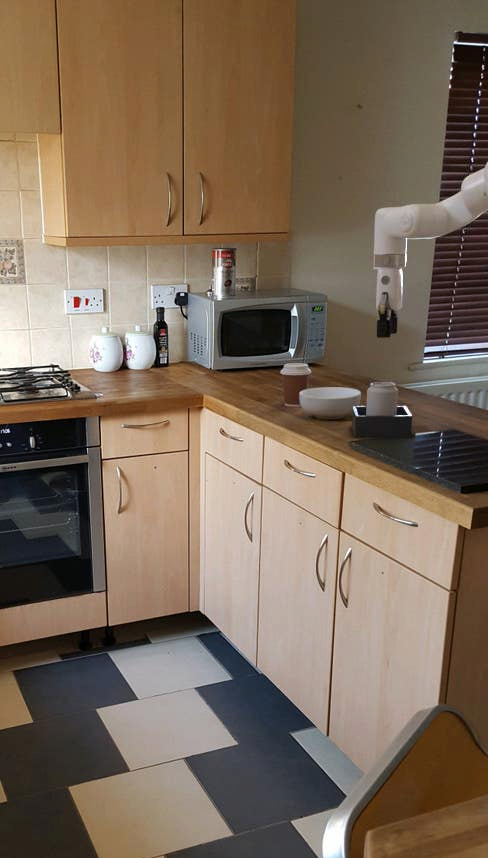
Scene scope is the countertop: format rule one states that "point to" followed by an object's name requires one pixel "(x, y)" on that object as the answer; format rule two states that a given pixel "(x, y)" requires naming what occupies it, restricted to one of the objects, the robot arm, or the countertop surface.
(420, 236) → the robot arm
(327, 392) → the cereal bowl
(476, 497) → the countertop surface
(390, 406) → the can
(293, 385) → the coffee cup
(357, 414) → the tote
